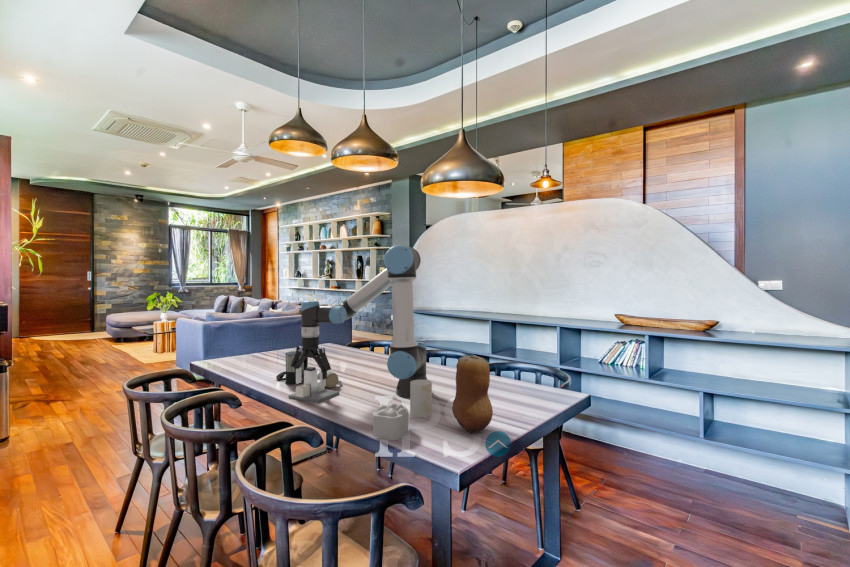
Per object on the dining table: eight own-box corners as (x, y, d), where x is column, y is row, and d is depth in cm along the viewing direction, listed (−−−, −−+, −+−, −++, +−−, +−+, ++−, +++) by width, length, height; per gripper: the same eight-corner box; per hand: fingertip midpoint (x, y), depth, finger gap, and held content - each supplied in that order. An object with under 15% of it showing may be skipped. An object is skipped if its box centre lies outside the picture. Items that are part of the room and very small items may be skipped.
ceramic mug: (326, 389, 190) (326, 373, 190) (316, 386, 196) (316, 370, 196) (345, 385, 198) (345, 369, 198) (335, 382, 204) (335, 367, 204)
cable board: (339, 394, 184) (339, 382, 183) (318, 402, 171) (318, 390, 171) (310, 389, 190) (310, 378, 190) (288, 398, 178) (288, 385, 178)
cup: (424, 418, 152) (424, 386, 152) (406, 414, 156) (406, 383, 156) (435, 412, 159) (435, 381, 159) (417, 408, 163) (417, 378, 163)
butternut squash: (500, 432, 139) (501, 357, 138) (470, 441, 131) (470, 362, 131) (473, 420, 150) (473, 351, 150) (443, 428, 142) (443, 355, 142)
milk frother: (301, 385, 199) (300, 354, 198) (268, 385, 199) (268, 354, 199) (310, 377, 213) (309, 349, 213) (279, 377, 213) (279, 349, 213)
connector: (317, 392, 182) (317, 367, 182) (311, 394, 179) (311, 369, 179) (310, 391, 184) (310, 366, 184) (304, 393, 181) (303, 368, 180)
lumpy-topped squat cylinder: (369, 436, 135) (369, 410, 135) (387, 423, 147) (387, 399, 147) (398, 441, 131) (397, 414, 131) (414, 427, 143) (414, 402, 143)
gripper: (282, 335, 183) (282, 383, 183) (327, 339, 172) (328, 390, 173) (294, 333, 190) (294, 379, 190) (338, 336, 179) (339, 385, 180)
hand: (310, 384), depth 181 cm, fingers open, 13 cm apart
